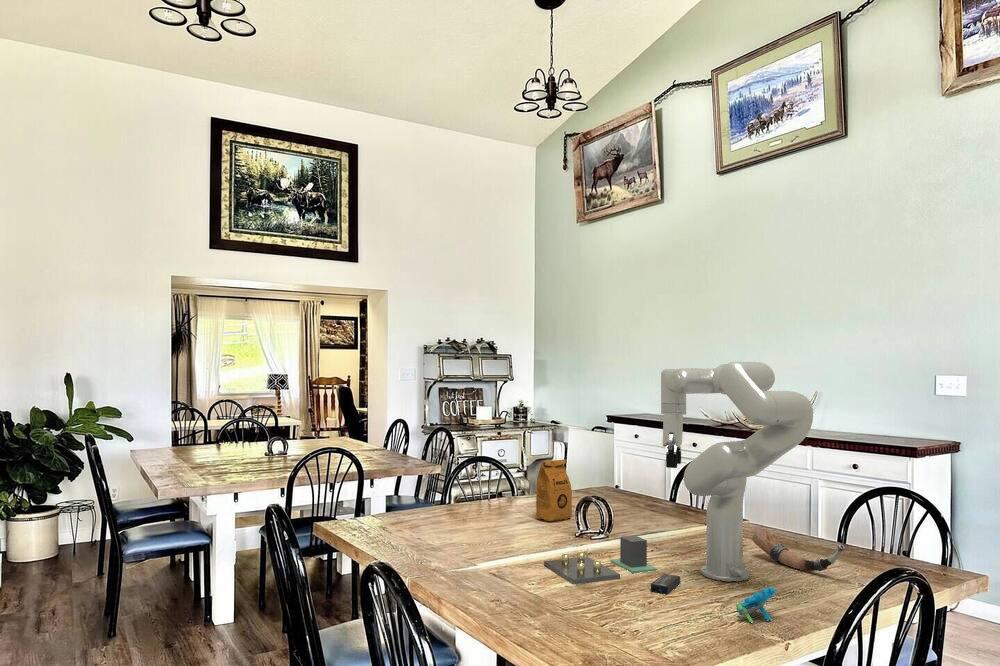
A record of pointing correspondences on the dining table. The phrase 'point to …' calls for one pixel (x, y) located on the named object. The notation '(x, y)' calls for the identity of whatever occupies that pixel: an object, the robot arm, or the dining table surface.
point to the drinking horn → (784, 556)
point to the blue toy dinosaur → (756, 603)
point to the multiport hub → (665, 584)
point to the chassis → (581, 569)
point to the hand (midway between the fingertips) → (673, 465)
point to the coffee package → (553, 492)
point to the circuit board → (633, 555)
